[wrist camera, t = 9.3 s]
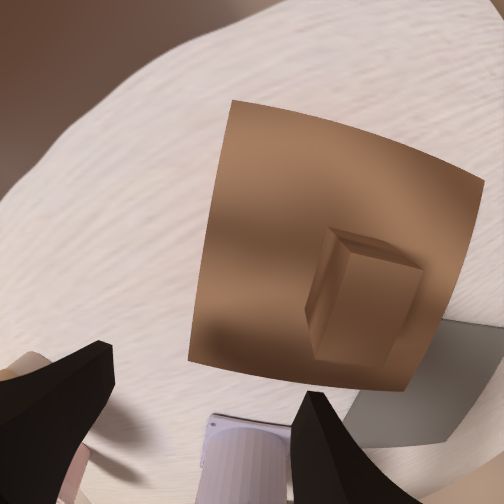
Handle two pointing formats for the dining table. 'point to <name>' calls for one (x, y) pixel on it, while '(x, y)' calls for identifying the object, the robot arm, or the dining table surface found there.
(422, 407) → the mat
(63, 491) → the smoothie
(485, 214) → the dining table surface
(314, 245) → the lid
